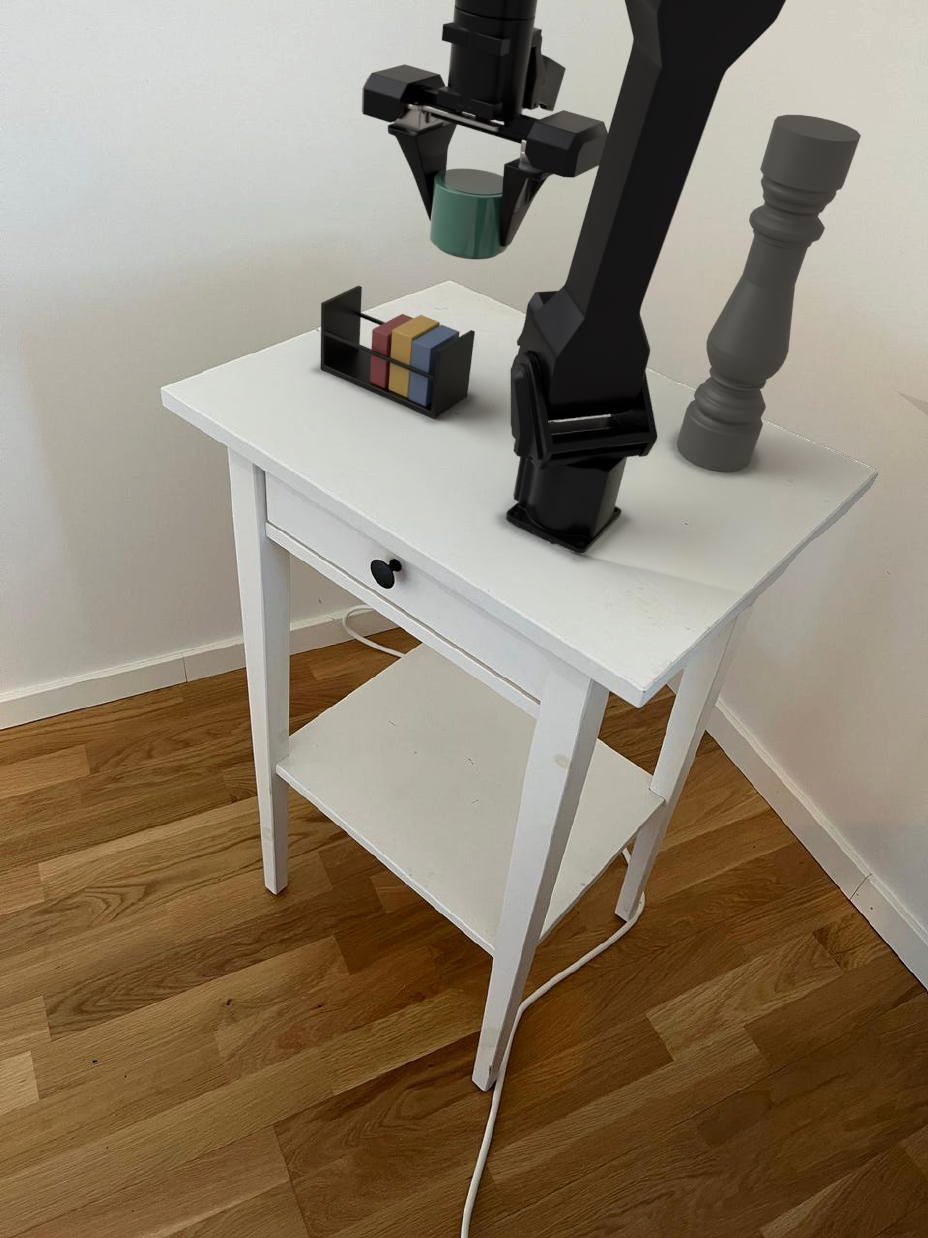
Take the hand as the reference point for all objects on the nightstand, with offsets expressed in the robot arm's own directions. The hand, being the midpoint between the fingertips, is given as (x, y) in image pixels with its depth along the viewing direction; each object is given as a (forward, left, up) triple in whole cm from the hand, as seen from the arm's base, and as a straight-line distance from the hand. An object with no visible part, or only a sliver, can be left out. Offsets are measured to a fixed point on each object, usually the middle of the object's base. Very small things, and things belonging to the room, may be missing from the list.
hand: (470, 233), depth 79 cm
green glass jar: (0, 0, -1) cm, 1 cm away
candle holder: (-23, -4, -12) cm, 27 cm away
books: (+1, +6, -12) cm, 13 cm away
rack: (+3, +6, -12) cm, 14 cm away
